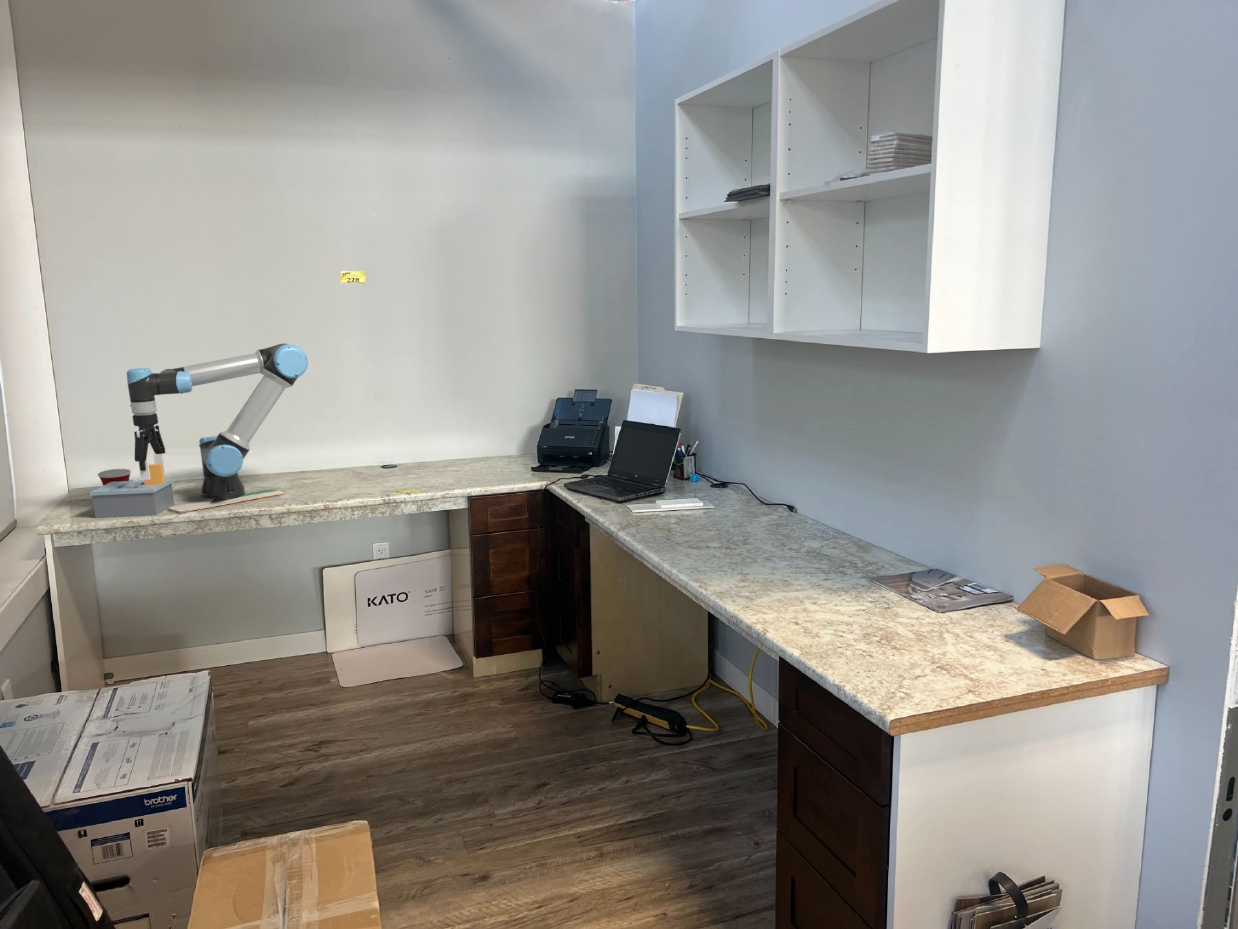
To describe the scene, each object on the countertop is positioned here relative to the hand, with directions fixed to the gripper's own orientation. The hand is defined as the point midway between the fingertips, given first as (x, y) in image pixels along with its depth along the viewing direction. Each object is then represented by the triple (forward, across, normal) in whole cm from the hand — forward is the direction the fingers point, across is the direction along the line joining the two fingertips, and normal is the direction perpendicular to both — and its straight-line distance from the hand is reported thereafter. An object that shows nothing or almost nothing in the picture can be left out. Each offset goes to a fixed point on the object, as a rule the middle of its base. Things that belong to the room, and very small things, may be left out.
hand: (153, 475), depth 303 cm
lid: (+4, 0, -8) cm, 9 cm away
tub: (+13, 0, -8) cm, 15 cm away
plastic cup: (+13, -18, -22) cm, 31 cm away
